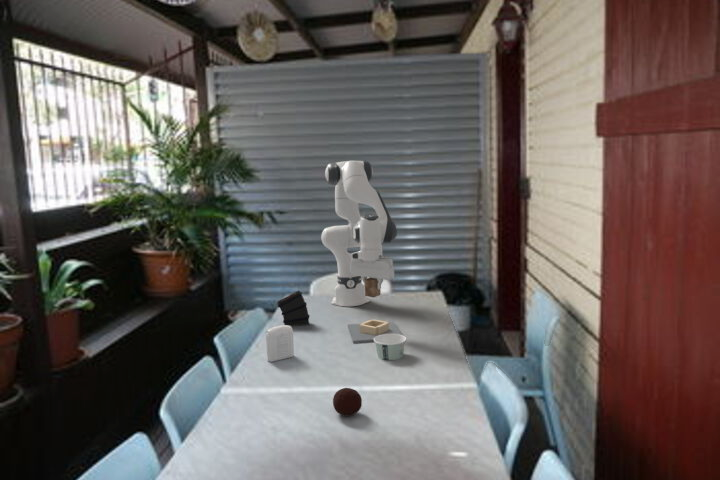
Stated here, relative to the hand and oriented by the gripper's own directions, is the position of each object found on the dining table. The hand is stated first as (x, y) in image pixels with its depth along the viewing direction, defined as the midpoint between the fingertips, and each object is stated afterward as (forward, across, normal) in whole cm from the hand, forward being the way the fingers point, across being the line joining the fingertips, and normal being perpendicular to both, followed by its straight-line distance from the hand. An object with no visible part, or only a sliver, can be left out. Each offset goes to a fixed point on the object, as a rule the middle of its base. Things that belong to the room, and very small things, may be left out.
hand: (372, 288), depth 239 cm
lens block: (+3, 0, 0) cm, 3 cm away
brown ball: (+19, -39, +64) cm, 78 cm away
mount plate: (+19, 0, 0) cm, 19 cm away
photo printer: (+19, +11, +42) cm, 48 cm away
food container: (+19, -21, +18) cm, 34 cm away
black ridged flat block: (+19, +37, +9) cm, 43 cm away
